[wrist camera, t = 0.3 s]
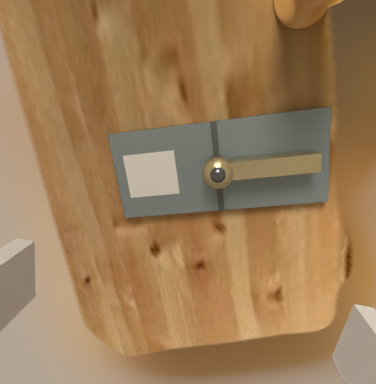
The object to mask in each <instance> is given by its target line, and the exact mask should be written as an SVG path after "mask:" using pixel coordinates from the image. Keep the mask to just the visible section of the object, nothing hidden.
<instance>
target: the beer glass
mask: <svg viewBox="0 0 376 384" xmlns="http://www.w3.org/2000/svg"><path fill="white" fill-rule="evenodd" d="M342 1H344V0H274V10H275V13H276V15H277V17H278V19H279V20H280V21H281V23H283V24H284V25H285V26H287V27H289V28H293V29H302V28H306V27H309V26H311V25H313V24H314V23H316V22H317V21H318V20H319V19H320V18H321V17H322V16H323V14H324V13H325V12H326V10H327V8H328V7H330V6H333V5H335V4H338V3H340V2H342Z"/></svg>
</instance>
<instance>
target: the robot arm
mask: <svg viewBox="0 0 376 384" xmlns="http://www.w3.org/2000/svg"><path fill="white" fill-rule="evenodd" d="M34 252H35V251H34V241H30V240H24V239H19V238H16V239H14V240H13V241H11V242H10V243H8V244H7V245H5V246H3V247H2V248H0V331H1V330H2V329H3V328H4V327H5V326H6V325H7V324H8V323H9V322H10V321H11V320H12V319H13V318H14V317H15V316H16V315H17V314H18V313H19V312H20V311H21V310H22V309H23V308H24V307H25V306H26V305H27V304H28V303H29V302H30V301H31V300H32V299H33V298H34V297H35V255H34V254H35V253H34ZM332 359H333V361H334V363H335V365H336V367H337V370H338V372H339V374H340V376H341V378H342V380H343V382H344V384H376V310H375V309H374V308H372V307H366V306H361V305H357V304H354V305H353V308H352V310H351V312H350V314H349V317H348V319H347V322H346V324H345V327H344V329H343V331H342V334H341V336H340V338H339V341H338V343H337V346H336V348H335V350H334V353H333V355H332Z"/></svg>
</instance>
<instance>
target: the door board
mask: <svg viewBox="0 0 376 384" xmlns="http://www.w3.org/2000/svg"><path fill="white" fill-rule="evenodd" d="M330 119H331V107H322V108H314V109H306V110H298V111H290V112H282V113H274V114H266V115H258V116H250V117H242V118H234V119H226V120H218V121H210V122H202V123H194V124H186V125H178V126H170V127H162V128H154V129H146V130H138V131H131V132H123V133H115V134H109V135H108V139H109V144H110V148H111V153H112V158H113V163H114V167H115V172H116V177H117V182H118V186H119V191H120V196H121V201H122V205H123V210H124V215H125V218H133V217H145V216H157V215H169V214H182V213H194V212H206V211H218V210H219V211H222V210H231V209H243V208H255V207H267V206H280V205H292V204H304V203H316V202H328V187H329V153H330ZM312 150H315V151H317V152H319V153H322V162H321V172H317V173H306V174H296V175H285V176H275V177H264V178H254V179H243V180H233V181H231V182H230V184H229V185H227V186H226V187H224V188H221V189H215V188H212V187H210V186H208V185H207V184H206V182H205V181H204V178H203V170H204V165H205V163H206V161H207V160H208V159H209V158H210V157H212V156H215V155H221V156H224V157H226V158H227V159H237V158H246V157H256V156H265V155H275V154H284V153H293V152H303V151H312Z"/></svg>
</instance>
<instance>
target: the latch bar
mask: <svg viewBox="0 0 376 384" xmlns="http://www.w3.org/2000/svg"><path fill="white" fill-rule="evenodd" d="M321 162H322V153H319V152H317V151H315V150H312V151H303V152H293V153H284V154H275V155H265V156H256V157H246V158H237V159H227V158H226V157H224V156H221V155H215V156H212V157H210V158H209V159H208V160H207V161H206V163H205V165H204V170H203V178H204V181H205V182H206V184H207V185H208V186H210V187H212V188H215V189H221V188H224V187H226V186H227V185H229V184H230V182H231V181H233V180H243V179H254V178H264V177H275V176H285V175H296V174H306V173H317V172H321Z"/></svg>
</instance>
